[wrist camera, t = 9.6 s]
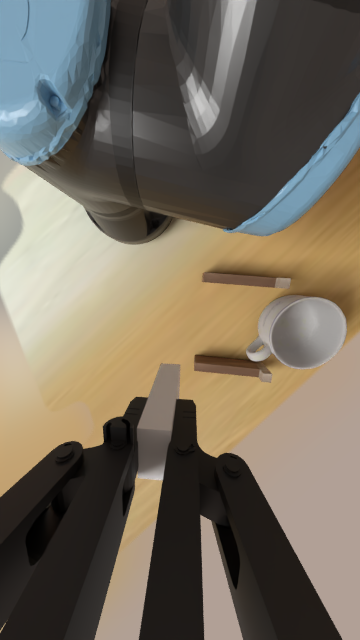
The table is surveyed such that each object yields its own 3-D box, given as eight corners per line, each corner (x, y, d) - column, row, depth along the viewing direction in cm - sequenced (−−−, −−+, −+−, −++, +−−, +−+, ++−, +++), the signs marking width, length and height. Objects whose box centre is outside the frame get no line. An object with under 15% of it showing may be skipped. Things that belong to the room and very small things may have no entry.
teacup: (306, 284, 33) (342, 285, 25) (319, 341, 34) (356, 359, 27) (228, 309, 34) (239, 318, 27) (244, 362, 36) (258, 385, 28)
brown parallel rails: (203, 273, 33) (204, 271, 28) (276, 278, 33) (291, 278, 28) (194, 362, 37) (194, 374, 32) (260, 368, 36) (270, 382, 31)
